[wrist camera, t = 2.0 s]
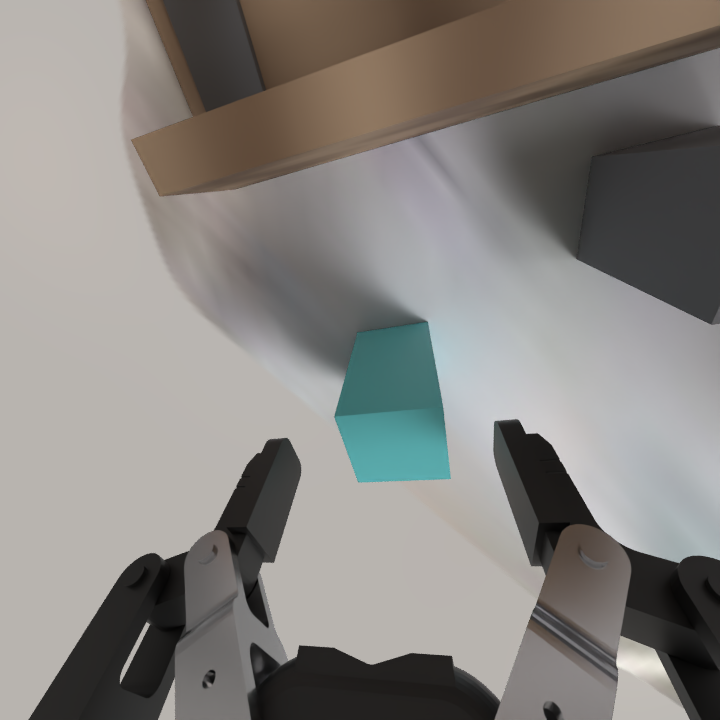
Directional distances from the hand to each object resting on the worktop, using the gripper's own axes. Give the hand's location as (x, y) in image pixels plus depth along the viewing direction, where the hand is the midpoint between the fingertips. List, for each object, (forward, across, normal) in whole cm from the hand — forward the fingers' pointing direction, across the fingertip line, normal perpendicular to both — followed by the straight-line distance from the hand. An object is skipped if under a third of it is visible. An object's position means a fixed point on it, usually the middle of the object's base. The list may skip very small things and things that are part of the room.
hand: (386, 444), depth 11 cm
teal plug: (+7, 0, 0) cm, 7 cm away
